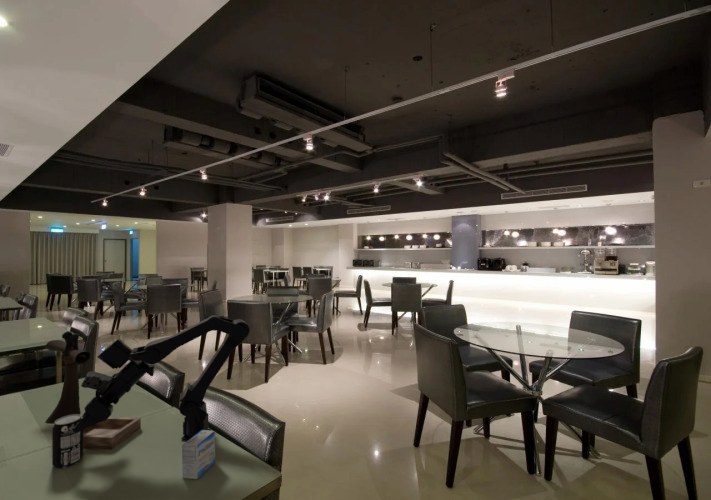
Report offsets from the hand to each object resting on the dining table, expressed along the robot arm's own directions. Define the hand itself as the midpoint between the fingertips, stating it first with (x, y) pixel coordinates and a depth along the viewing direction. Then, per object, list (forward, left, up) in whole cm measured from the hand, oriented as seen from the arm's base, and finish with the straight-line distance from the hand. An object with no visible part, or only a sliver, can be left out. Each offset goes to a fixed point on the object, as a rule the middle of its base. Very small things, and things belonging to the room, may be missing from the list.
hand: (79, 424), depth 97 cm
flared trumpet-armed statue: (+28, -24, -10) cm, 38 cm away
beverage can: (+2, +1, -10) cm, 11 cm away
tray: (+3, -12, -10) cm, 16 cm away
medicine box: (-36, +2, -10) cm, 37 cm away
